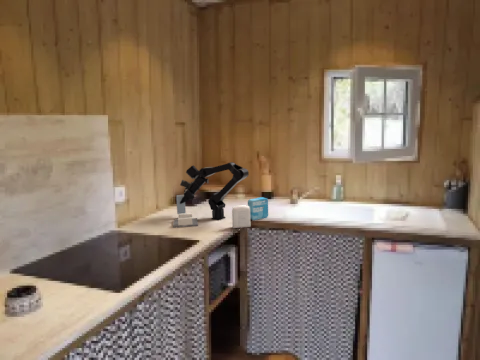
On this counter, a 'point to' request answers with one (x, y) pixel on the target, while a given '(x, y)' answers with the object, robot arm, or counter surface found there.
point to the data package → (258, 208)
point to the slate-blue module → (180, 205)
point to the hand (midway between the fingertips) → (180, 202)
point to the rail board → (185, 220)
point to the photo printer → (241, 216)
